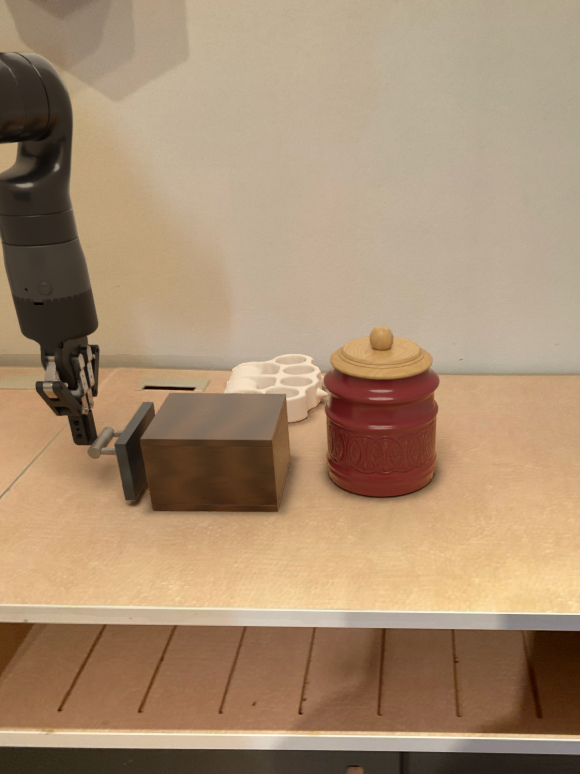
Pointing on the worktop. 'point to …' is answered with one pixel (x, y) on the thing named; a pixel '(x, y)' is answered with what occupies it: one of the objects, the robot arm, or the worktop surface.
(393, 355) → the kitchen canister
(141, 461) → the drawer
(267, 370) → the white egg tray
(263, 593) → the worktop surface
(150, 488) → the cabinet
